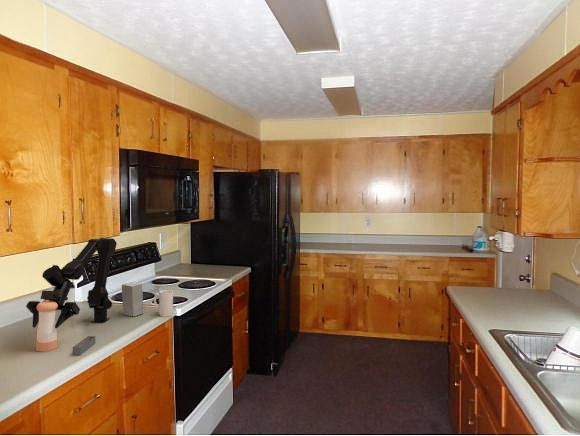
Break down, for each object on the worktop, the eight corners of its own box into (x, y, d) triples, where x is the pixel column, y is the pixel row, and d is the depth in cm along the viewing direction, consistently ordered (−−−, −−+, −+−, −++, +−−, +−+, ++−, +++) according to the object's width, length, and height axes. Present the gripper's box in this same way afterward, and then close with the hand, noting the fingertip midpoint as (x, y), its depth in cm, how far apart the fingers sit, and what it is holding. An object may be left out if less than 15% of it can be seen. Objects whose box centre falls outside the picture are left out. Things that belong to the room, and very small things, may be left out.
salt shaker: (36, 353, 153) (36, 303, 151) (35, 346, 159) (35, 298, 157) (58, 349, 157) (59, 300, 156) (56, 343, 163) (56, 296, 162)
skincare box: (143, 314, 205) (144, 283, 204) (131, 317, 199) (132, 285, 198) (132, 311, 209) (133, 281, 208) (120, 314, 203) (121, 283, 202)
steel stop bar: (87, 343, 164) (88, 336, 164) (95, 343, 164) (95, 336, 164) (72, 355, 152) (72, 347, 152) (80, 355, 152) (80, 347, 152)
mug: (175, 313, 207) (175, 290, 207) (168, 317, 201) (169, 293, 200) (157, 312, 210) (157, 289, 209) (150, 315, 203) (150, 292, 202)
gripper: (28, 280, 160) (10, 316, 150) (76, 282, 160) (61, 318, 150) (40, 295, 168) (23, 330, 158) (86, 296, 169) (72, 331, 158)
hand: (44, 327), depth 156 cm, fingers open, 8 cm apart
